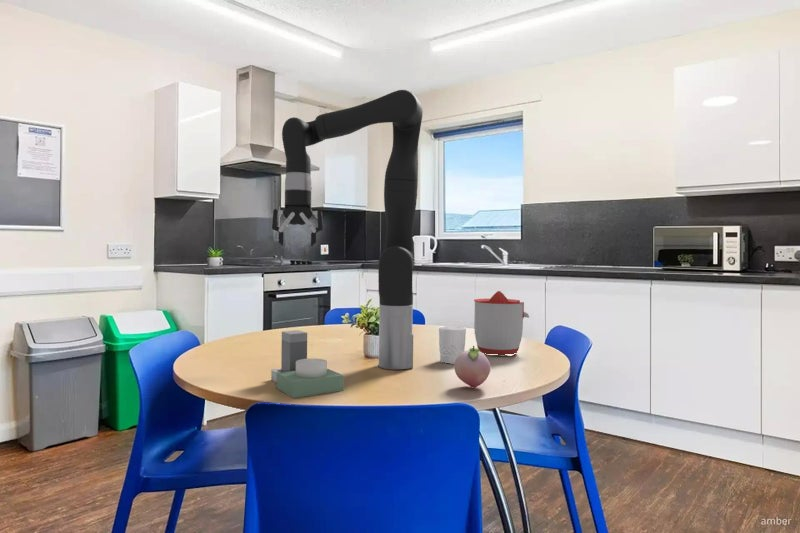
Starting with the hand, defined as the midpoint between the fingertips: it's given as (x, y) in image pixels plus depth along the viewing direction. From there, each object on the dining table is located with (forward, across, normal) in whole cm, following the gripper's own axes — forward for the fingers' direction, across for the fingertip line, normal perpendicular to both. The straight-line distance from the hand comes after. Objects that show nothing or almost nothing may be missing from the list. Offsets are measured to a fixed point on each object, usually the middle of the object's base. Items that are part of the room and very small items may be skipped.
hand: (297, 245), depth 154 cm
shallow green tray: (+33, +4, -30) cm, 45 cm away
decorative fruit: (+33, +44, -34) cm, 65 cm away
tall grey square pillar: (+33, +2, -26) cm, 42 cm away
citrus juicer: (+33, +63, +8) cm, 72 cm away
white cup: (+33, +45, -4) cm, 56 cm away
